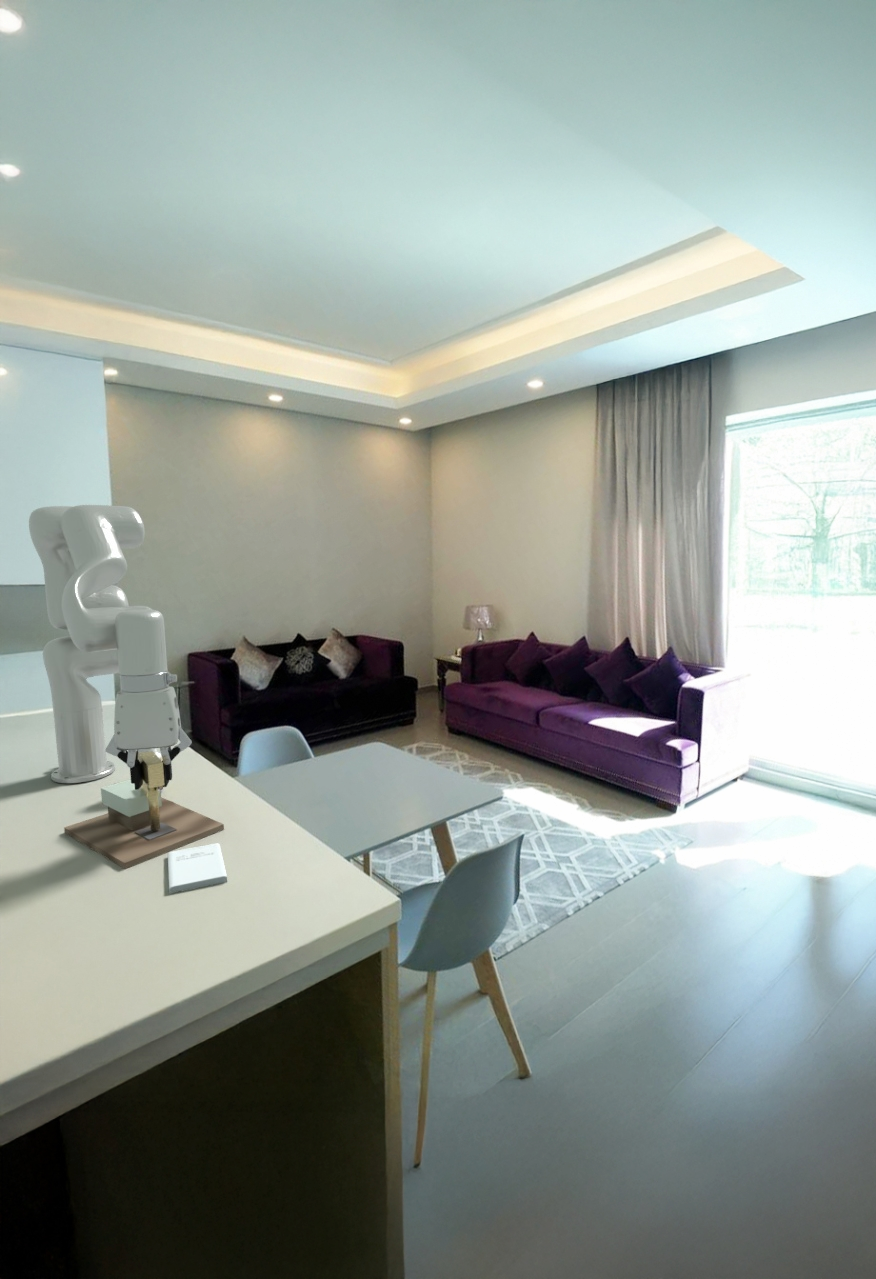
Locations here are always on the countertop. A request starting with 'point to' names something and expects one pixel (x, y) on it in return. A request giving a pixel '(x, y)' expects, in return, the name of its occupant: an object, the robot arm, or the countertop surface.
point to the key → (152, 784)
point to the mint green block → (126, 798)
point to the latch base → (142, 833)
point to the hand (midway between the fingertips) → (152, 784)
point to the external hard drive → (196, 867)
